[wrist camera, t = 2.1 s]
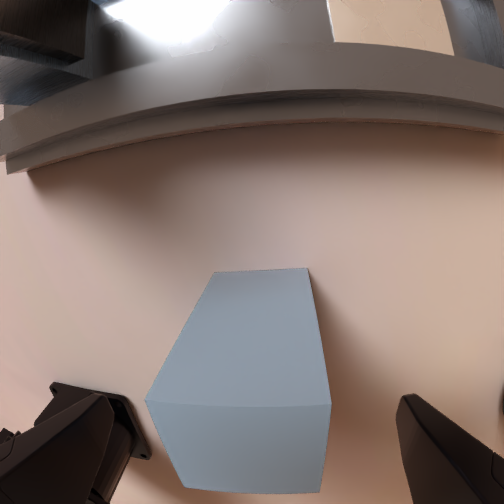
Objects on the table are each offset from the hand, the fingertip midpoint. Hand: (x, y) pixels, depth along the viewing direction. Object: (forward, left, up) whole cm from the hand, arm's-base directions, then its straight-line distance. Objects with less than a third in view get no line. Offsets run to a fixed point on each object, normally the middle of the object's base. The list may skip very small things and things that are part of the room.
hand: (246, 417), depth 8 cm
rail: (+13, 0, -6) cm, 15 cm away
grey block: (0, 0, -6) cm, 6 cm away
